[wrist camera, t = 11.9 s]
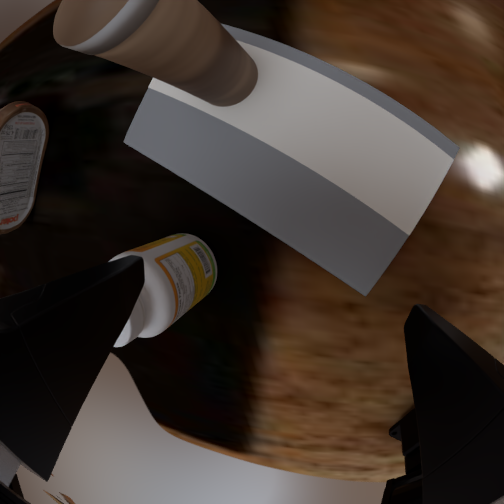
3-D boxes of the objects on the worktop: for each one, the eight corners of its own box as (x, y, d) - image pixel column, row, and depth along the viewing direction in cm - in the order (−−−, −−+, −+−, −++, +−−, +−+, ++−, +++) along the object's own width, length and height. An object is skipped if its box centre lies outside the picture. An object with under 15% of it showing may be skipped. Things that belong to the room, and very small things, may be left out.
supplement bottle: (153, 279, 24) (69, 325, 15) (169, 221, 23) (74, 248, 14) (207, 309, 23) (134, 376, 14) (228, 250, 22) (149, 299, 13)
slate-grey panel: (456, 148, 15) (460, 147, 14) (365, 293, 19) (365, 297, 19) (194, 19, 18) (190, 16, 17) (127, 142, 22) (122, 142, 21)
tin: (49, 103, 24) (-10, 98, 17) (61, 108, 24) (-2, 102, 16) (24, 219, 29) (-28, 231, 22) (35, 229, 29) (-20, 244, 21)
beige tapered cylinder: (265, 52, 17) (162, -66, 5) (250, 111, 18) (115, 34, 6) (205, 49, 18) (78, -33, 6) (191, 104, 19) (39, 55, 7)
